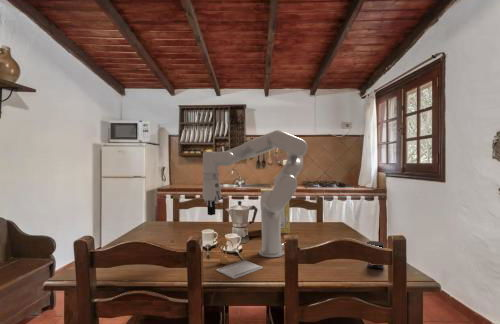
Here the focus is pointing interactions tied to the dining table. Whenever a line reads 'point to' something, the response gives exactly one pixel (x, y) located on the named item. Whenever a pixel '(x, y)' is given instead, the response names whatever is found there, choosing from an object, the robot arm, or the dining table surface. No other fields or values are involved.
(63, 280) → the dining table surface
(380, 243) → the supplement container
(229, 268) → the mat
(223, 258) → the figurine
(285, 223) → the pasta box
